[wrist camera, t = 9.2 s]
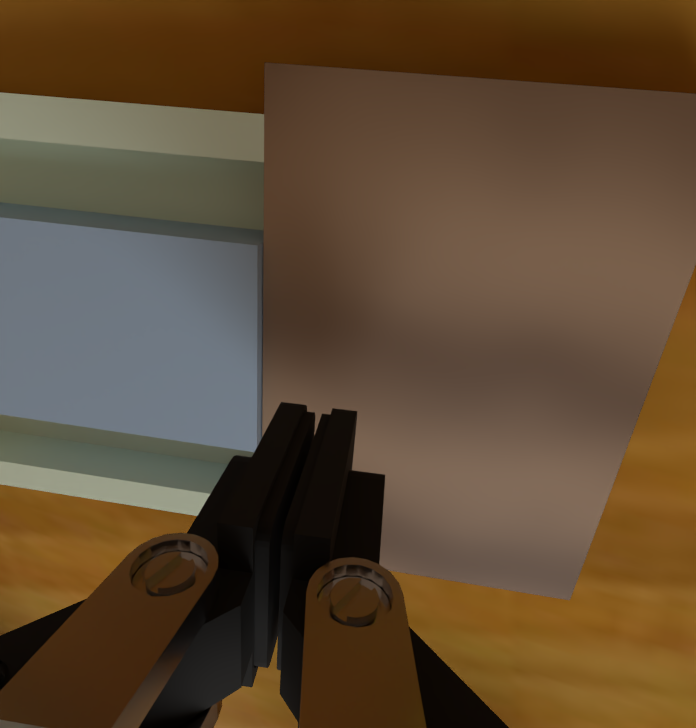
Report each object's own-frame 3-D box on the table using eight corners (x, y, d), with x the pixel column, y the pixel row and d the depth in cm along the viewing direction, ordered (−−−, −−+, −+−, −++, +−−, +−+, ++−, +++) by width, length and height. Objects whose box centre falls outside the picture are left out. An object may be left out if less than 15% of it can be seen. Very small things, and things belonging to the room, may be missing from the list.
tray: (277, 487, 18) (261, 526, 16) (-51, 437, 19) (-100, 467, 17) (286, 118, 13) (264, 113, 11) (-160, 81, 14) (-246, 72, 12)
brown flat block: (554, 552, 17) (569, 600, 16) (277, 509, 18) (261, 549, 16) (704, 105, 12) (758, 98, 10) (287, 74, 12) (264, 62, 11)
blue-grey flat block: (275, 418, 16) (256, 452, 14) (21, 381, 17) (-27, 410, 15) (279, 232, 14) (257, 245, 12) (-20, 199, 14) (-83, 208, 13)
